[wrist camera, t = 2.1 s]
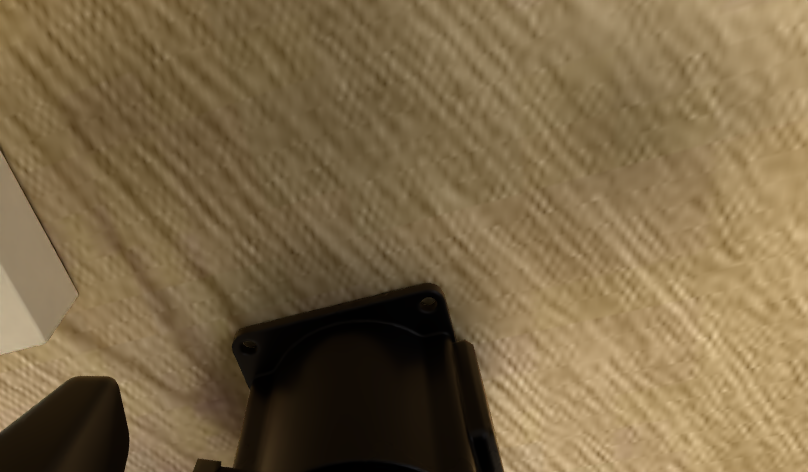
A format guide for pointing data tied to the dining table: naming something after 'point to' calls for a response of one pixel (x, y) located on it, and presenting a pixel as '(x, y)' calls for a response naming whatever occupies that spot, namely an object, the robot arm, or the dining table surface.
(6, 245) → the white book
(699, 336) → the dining table surface
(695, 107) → the dining table surface
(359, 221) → the dining table surface
